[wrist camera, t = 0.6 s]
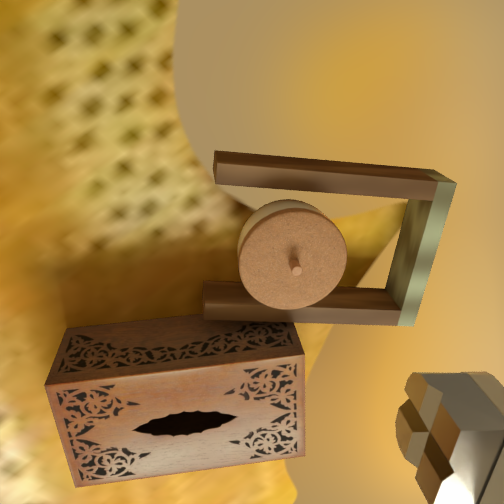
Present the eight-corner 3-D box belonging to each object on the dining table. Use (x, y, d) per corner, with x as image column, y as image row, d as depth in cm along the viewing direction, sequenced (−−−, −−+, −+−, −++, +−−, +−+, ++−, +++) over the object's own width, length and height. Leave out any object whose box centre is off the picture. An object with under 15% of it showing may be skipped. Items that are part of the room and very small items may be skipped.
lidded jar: (295, 288, 57) (314, 334, 48) (215, 252, 54) (220, 295, 45) (345, 211, 53) (374, 246, 45) (261, 169, 50) (276, 198, 42)
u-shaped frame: (214, 150, 49) (217, 163, 44) (433, 169, 52) (457, 183, 48) (202, 295, 56) (203, 319, 51) (396, 303, 59) (413, 326, 55)
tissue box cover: (91, 420, 62) (75, 487, 53) (67, 327, 56) (44, 385, 47) (288, 395, 64) (305, 455, 55) (286, 303, 58) (304, 354, 49)
